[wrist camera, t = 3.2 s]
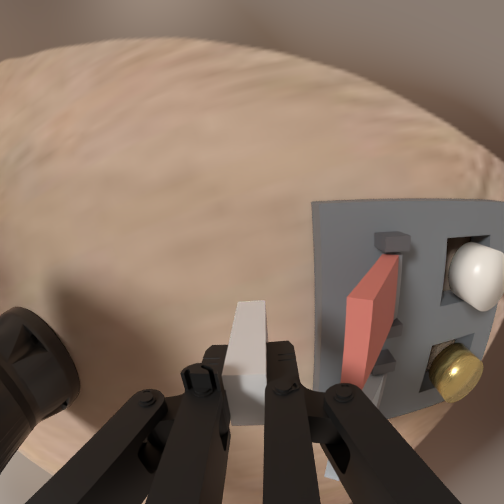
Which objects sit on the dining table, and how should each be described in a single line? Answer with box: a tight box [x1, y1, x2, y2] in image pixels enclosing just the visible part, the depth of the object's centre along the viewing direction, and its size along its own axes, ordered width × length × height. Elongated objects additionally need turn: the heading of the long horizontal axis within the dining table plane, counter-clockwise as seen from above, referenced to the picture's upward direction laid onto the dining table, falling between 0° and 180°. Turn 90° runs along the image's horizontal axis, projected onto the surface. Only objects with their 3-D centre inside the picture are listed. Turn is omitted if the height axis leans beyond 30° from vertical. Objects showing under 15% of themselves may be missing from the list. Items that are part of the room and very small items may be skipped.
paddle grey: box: [325, 373, 387, 481], centre depth 17 cm, size 2×5×9 cm
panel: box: [311, 198, 504, 419], centre depth 20 cm, size 20×22×5 cm
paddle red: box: [340, 252, 403, 390], centre depth 15 cm, size 2×5×9 cm
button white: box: [448, 242, 504, 311], centre depth 17 cm, size 5×5×4 cm
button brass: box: [428, 343, 483, 403], centre depth 19 cm, size 5×5×4 cm
